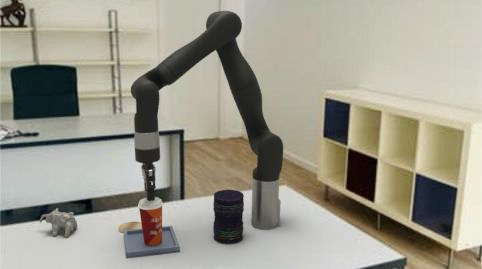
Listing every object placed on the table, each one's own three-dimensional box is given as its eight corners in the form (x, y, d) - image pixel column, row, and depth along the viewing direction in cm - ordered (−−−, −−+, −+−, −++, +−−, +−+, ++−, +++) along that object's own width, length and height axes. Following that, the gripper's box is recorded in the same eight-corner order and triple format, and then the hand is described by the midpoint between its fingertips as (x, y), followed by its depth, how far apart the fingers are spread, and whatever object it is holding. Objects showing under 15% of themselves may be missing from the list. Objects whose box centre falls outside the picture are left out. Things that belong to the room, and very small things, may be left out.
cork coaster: (144, 221, 168) (144, 220, 168) (146, 232, 160) (146, 231, 160) (117, 224, 166) (117, 223, 166) (118, 235, 158) (118, 233, 157)
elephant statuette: (75, 238, 156) (75, 216, 154) (36, 239, 153) (35, 217, 151) (78, 227, 165) (78, 206, 163) (40, 228, 162) (40, 206, 160)
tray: (172, 230, 162) (172, 225, 162) (179, 251, 147) (179, 246, 147) (123, 235, 158) (123, 230, 157) (126, 258, 143) (126, 252, 142)
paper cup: (158, 249, 147) (155, 206, 144) (136, 245, 149) (133, 204, 146) (169, 237, 154) (167, 197, 151) (148, 234, 157) (145, 194, 153)
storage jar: (249, 239, 156) (250, 196, 153) (224, 247, 151) (225, 202, 147) (231, 228, 164) (231, 187, 161) (207, 236, 158) (207, 193, 155)
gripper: (162, 150, 139) (164, 202, 143) (157, 138, 152) (159, 186, 156) (136, 152, 137) (139, 205, 141) (132, 140, 150) (135, 189, 154)
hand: (149, 195), depth 149 cm, fingers open, 8 cm apart
